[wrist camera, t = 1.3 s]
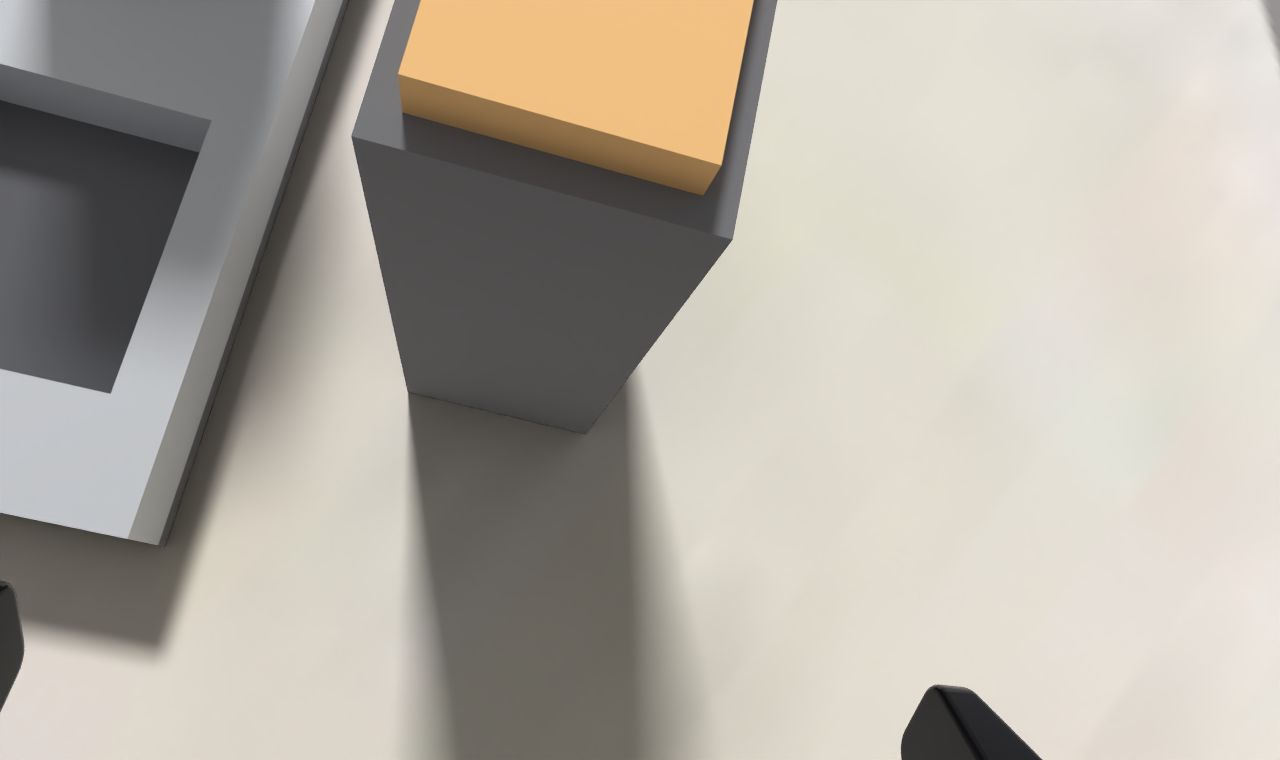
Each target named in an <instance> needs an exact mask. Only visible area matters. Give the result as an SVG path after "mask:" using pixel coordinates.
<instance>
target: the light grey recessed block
mask: <svg viewBox="0 0 1280 760" xmlns="http://www.w3.org/2000/svg"><path fill="white" fill-rule="evenodd" d="M348 1H349V0H0V513H4V514H9V515H14V516H19V517H24V518H28V519H33V520H38V521H43V522H48V523H53V524H57V525H62V526H67V527H72V528H77V529H82V530H86V531H91V532H96V533H101V534H106V535H111V536H115V537H120V538H125V539H130V540H135V541H139V542H144V543H149V544H154V545H159V546H164V547H165V545H166V542H167V539H168V536H169V533H170V530H171V527H172V524H173V521H174V518H175V515H176V512H177V509H178V506H179V503H180V500H181V497H182V494H183V491H184V488H185V485H186V482H187V479H188V477H189V474H190V471H191V468H192V465H193V462H194V459H195V456H196V453H197V450H198V447H199V444H200V441H201V438H202V435H203V432H204V429H205V426H206V423H207V420H208V417H209V414H210V411H211V408H212V405H213V402H214V399H215V396H216V393H217V390H218V387H219V384H220V381H221V379H222V376H223V373H224V370H225V367H226V364H227V361H228V358H229V355H230V352H231V349H232V346H233V343H234V340H235V337H236V334H237V331H238V328H239V325H240V322H241V319H242V316H243V313H244V310H245V307H246V304H247V301H248V298H249V295H250V292H251V289H252V286H253V283H254V281H255V278H256V275H257V272H258V269H259V266H260V263H261V260H262V257H263V254H264V251H265V248H266V245H267V242H268V239H269V236H270V233H271V230H272V227H273V224H274V221H275V218H276V215H277V212H278V209H279V206H280V203H281V200H282V197H283V194H284V191H285V188H286V185H287V183H288V180H289V177H290V174H291V171H292V168H293V165H294V162H295V159H296V156H297V153H298V150H299V147H300V144H301V141H302V138H303V135H304V132H305V129H306V126H307V123H308V120H309V117H310V114H311V111H312V108H313V105H314V102H315V99H316V96H317V93H318V90H319V87H320V85H321V82H322V79H323V76H324V73H325V70H326V67H327V64H328V61H329V58H330V55H331V52H332V49H333V46H334V43H335V40H336V37H337V34H338V31H339V28H340V25H341V22H342V19H343V16H344V13H345V10H346V7H347V4H348Z"/></svg>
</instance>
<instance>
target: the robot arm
mask: <svg viewBox="0 0 1280 760" xmlns="http://www.w3.org/2000/svg"><path fill="white" fill-rule="evenodd" d="M23 656H24V638H23V632H22V626H21V620H20V614H19V608H18V602H17V596H16V592H15V589H14V588H13V587H12V586H11V585H10V584H9V583H6V582H4V581H0V712H1V710H2V708H3V705H4V703H5V701H6V699H7V697H8V695H9V692H10V690H11V688H12V686H13V684H14V681H15V679H16V677H17V675H18V673H19V670H20V667H21V664H22V661H23ZM901 758H902V760H1042V759H1041V758H1040V757H1039V756H1038V755H1037V754H1036V753H1035V752H1034V751H1033V750H1032V749H1031V748H1030V747H1029V746H1028V745H1027V744H1026V743H1025V742H1024V741H1023V740H1022V739H1021V738H1020V737H1019V736H1018V735H1017V734H1016V733H1015V732H1014V731H1013V730H1012V729H1011V728H1010V727H1009V726H1008V725H1007V724H1006V723H1005V722H1004V721H1003V720H1002V719H1001V718H1000V717H999V716H998V715H997V714H996V713H995V712H994V711H993V710H992V709H991V708H990V707H989V706H988V705H987V704H986V703H985V702H984V701H983V700H982V699H981V698H980V697H979V696H978V695H977V694H976V693H974V692H973V691H972V690H970V689H968V688H965V687H957V686H948V685H933V686H932V687H930V688H929V689H928V690H927V691H926V692H925V694H924V696H923V698H922V700H921V702H920V703H919V705H918V707H917V709H916V711H915V713H914V715H913V716H912V718H911V720H910V722H909V724H908V726H907V728H906V729H905V732H904V734H903V738H902V742H901Z"/></svg>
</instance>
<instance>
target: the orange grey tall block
mask: <svg viewBox="0 0 1280 760" xmlns="http://www.w3.org/2000/svg"><path fill="white" fill-rule="evenodd" d="M776 4H777V0H395V1H394V5H393V8H392V11H391V14H390V17H389V20H388V23H387V26H386V30H385V33H384V36H383V39H382V42H381V45H380V48H379V51H378V55H377V58H376V61H375V64H374V67H373V70H372V73H371V76H370V80H369V83H368V86H367V89H366V92H365V95H364V98H363V101H362V104H361V108H360V111H359V114H358V117H357V120H356V123H355V126H354V129H353V133H352V136H351V137H352V141H353V146H354V150H355V155H356V159H357V164H358V168H359V173H360V177H361V182H362V186H363V191H364V196H365V200H366V205H367V209H368V214H369V218H370V223H371V227H372V232H373V236H374V241H375V245H376V250H377V254H378V259H379V264H380V268H381V273H382V277H383V282H384V286H385V291H386V295H387V300H388V304H389V309H390V313H391V318H392V322H393V327H394V332H395V336H396V341H397V345H398V350H399V354H400V359H401V363H402V368H403V372H404V377H405V381H406V386H407V391H408V392H409V393H413V394H418V395H422V396H426V397H430V398H435V399H439V400H443V401H447V402H451V403H456V404H460V405H464V406H468V407H473V408H477V409H481V410H485V411H489V412H494V413H498V414H502V415H506V416H510V417H515V418H519V419H523V420H527V421H532V422H536V423H540V424H544V425H548V426H553V427H557V428H561V429H565V430H570V431H574V432H578V433H582V434H586V433H587V432H588V430H589V429H590V428H591V426H592V425H593V424H594V422H595V421H596V420H597V418H598V417H599V416H600V414H601V413H602V412H603V410H604V409H605V408H606V406H607V405H608V404H609V402H610V401H611V400H612V398H613V397H614V396H615V394H616V393H617V392H618V390H619V389H620V388H621V387H622V385H623V384H624V383H625V381H626V380H627V379H628V377H629V376H630V375H631V373H632V372H633V371H634V369H635V368H636V367H637V365H638V364H639V363H640V361H641V360H642V359H643V357H644V356H645V355H646V353H647V352H648V351H649V349H650V348H651V347H652V346H653V344H654V343H655V342H656V340H657V339H658V338H659V336H660V335H661V334H662V332H663V331H664V330H665V328H666V327H667V326H668V324H669V323H670V322H671V320H672V319H673V318H674V316H675V315H676V314H677V312H678V311H679V310H680V308H681V307H682V306H683V305H684V303H685V302H686V301H687V299H688V298H689V297H690V295H691V294H692V293H693V291H694V290H695V289H696V287H697V286H698V285H699V283H700V282H701V281H702V279H703V278H704V277H705V275H706V274H707V273H708V271H709V270H710V269H711V267H712V266H713V265H714V264H715V262H716V261H717V260H718V258H719V257H720V256H721V254H722V253H723V252H724V250H725V249H726V248H727V246H728V245H729V244H730V242H731V241H732V240H733V234H734V229H735V224H736V218H737V213H738V208H739V202H740V197H741V192H742V186H743V181H744V176H745V170H746V165H747V159H748V154H749V149H750V143H751V138H752V133H753V127H754V122H755V117H756V111H757V106H758V101H759V95H760V90H761V85H762V79H763V74H764V68H765V63H766V58H767V52H768V47H769V42H770V36H771V31H772V26H773V20H774V15H775V10H776Z"/></svg>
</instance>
